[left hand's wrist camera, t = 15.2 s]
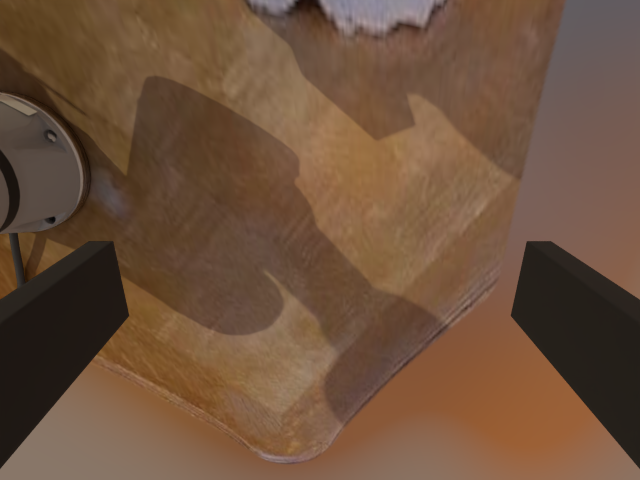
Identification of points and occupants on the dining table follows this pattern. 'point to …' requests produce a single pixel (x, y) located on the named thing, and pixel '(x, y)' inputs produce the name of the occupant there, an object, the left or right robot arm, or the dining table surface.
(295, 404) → the dining table surface
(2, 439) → the left robot arm
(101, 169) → the dining table surface
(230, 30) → the dining table surface
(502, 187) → the dining table surface
